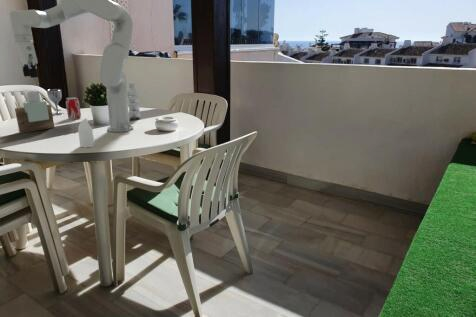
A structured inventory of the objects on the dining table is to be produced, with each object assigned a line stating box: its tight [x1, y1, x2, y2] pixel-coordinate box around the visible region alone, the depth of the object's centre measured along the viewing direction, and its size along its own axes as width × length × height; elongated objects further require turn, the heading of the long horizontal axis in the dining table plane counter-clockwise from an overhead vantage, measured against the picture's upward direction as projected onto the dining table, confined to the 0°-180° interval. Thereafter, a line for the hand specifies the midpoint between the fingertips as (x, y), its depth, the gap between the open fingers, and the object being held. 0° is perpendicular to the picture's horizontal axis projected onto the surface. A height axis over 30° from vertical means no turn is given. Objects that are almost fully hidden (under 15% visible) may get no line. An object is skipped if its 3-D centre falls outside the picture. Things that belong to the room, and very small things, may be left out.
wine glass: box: [46, 88, 65, 116], centre depth 218 cm, size 8×8×15 cm
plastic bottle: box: [127, 83, 141, 120], centre depth 205 cm, size 6×7×20 cm
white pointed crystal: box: [77, 118, 95, 149], centre depth 151 cm, size 6×12×6 cm
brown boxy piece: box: [14, 103, 56, 134], centre depth 180 cm, size 11×16×12 cm
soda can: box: [65, 96, 82, 120], centre depth 206 cm, size 7×7×12 cm
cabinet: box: [22, 90, 49, 122], centre depth 174 cm, size 5×9×14 cm, turn 136°
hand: (31, 76), depth 170 cm, fingers open, 9 cm apart
